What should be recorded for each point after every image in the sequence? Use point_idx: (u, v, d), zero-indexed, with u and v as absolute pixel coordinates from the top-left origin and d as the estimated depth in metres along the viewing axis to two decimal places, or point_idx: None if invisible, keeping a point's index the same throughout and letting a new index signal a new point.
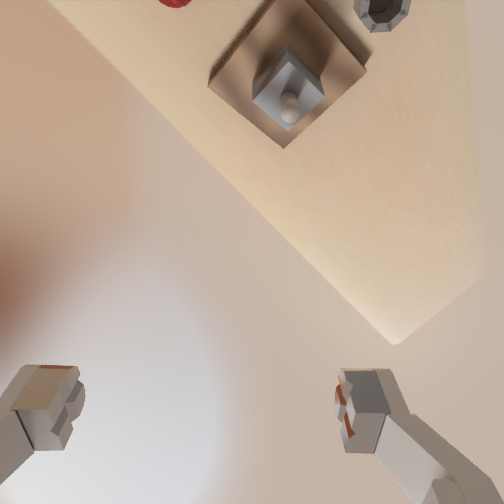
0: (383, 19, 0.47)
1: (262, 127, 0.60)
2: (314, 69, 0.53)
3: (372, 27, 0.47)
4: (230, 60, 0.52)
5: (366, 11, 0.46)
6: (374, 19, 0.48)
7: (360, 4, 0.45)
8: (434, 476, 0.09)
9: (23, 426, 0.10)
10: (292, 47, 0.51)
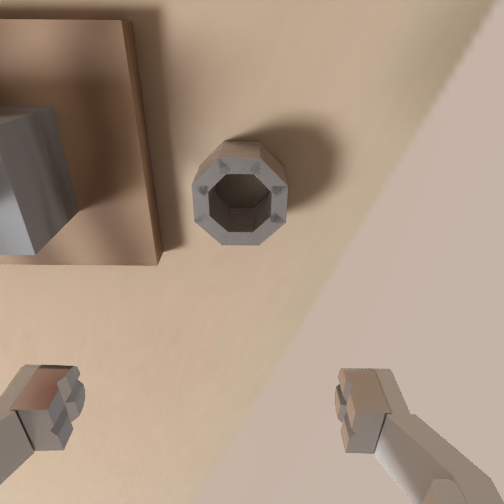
0: (225, 219, 0.26)
1: None
2: (77, 192, 0.25)
3: (201, 216, 0.24)
4: None
5: (209, 186, 0.23)
6: (214, 208, 0.25)
7: (207, 168, 0.23)
8: (434, 477, 0.09)
9: (23, 426, 0.10)
10: (59, 124, 0.23)
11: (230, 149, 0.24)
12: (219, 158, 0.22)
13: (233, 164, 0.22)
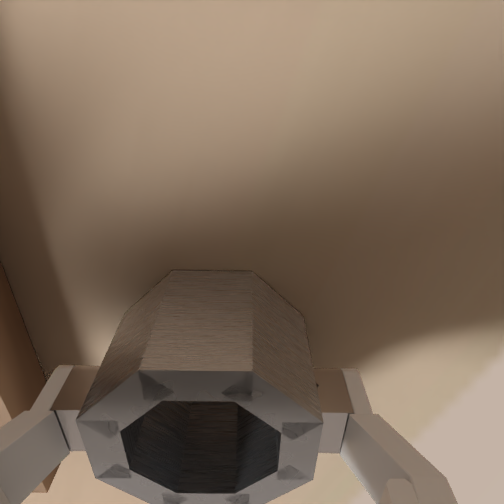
0: (175, 443, 0.12)
1: None
2: None
3: (111, 470, 0.10)
4: None
5: (120, 422, 0.09)
6: (149, 420, 0.11)
7: (114, 380, 0.09)
8: (392, 476, 0.09)
9: (61, 426, 0.10)
10: None
11: (180, 314, 0.10)
12: (140, 370, 0.08)
13: (180, 382, 0.08)
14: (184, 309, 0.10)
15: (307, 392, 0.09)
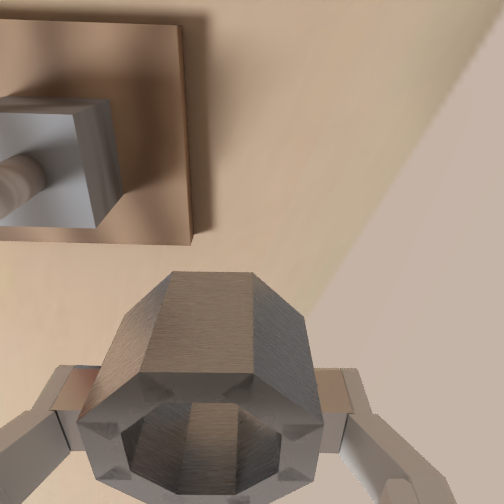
0: (175, 444, 0.12)
1: None
2: (124, 176, 0.28)
3: (111, 472, 0.10)
4: None
5: (120, 423, 0.09)
6: (149, 422, 0.11)
7: (115, 382, 0.09)
8: (391, 476, 0.09)
9: (62, 427, 0.10)
10: (114, 115, 0.26)
11: (180, 316, 0.10)
12: (141, 372, 0.08)
13: (180, 384, 0.08)
14: (185, 310, 0.10)
15: (308, 394, 0.09)
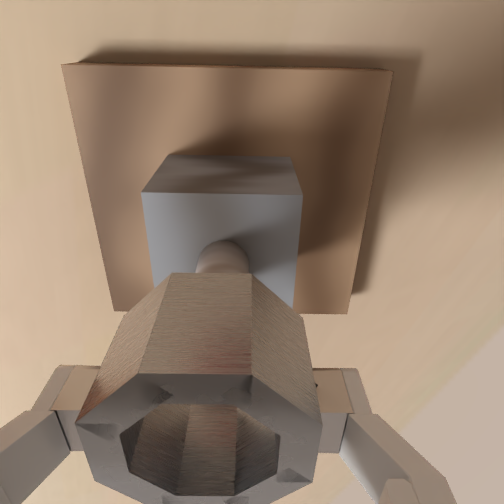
0: (174, 445, 0.12)
1: (108, 246, 0.24)
2: None
3: (110, 473, 0.10)
4: (163, 70, 0.19)
5: (119, 425, 0.09)
6: (148, 423, 0.11)
7: (114, 383, 0.09)
8: (391, 476, 0.09)
9: (61, 426, 0.10)
10: None
11: (179, 317, 0.10)
12: (139, 373, 0.08)
13: (179, 385, 0.08)
14: (183, 312, 0.10)
15: (306, 395, 0.09)
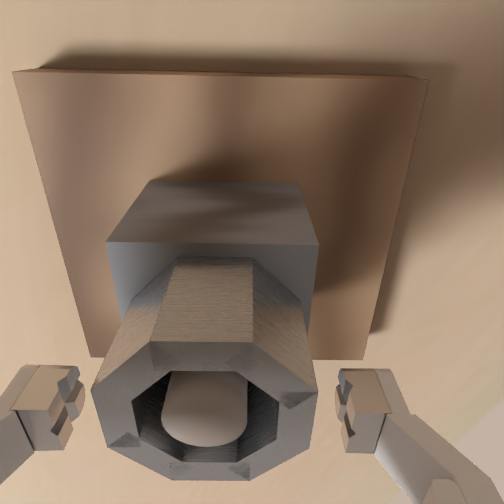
0: None
1: (81, 286, 0.20)
2: None
3: (122, 439, 0.11)
4: (140, 79, 0.15)
5: (131, 391, 0.10)
6: (156, 396, 0.12)
7: (126, 353, 0.10)
8: (434, 477, 0.09)
9: (23, 426, 0.10)
10: None
11: (186, 294, 0.10)
12: (151, 341, 0.09)
13: (187, 353, 0.09)
14: (190, 290, 0.11)
15: (303, 365, 0.10)
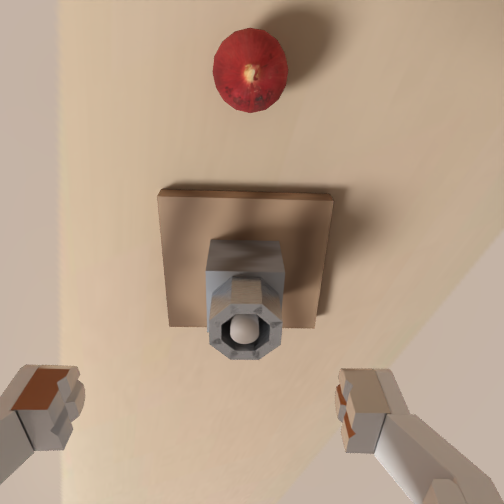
0: None
1: (170, 288, 0.40)
2: None
3: (215, 340, 0.31)
4: (211, 199, 0.35)
5: (222, 321, 0.30)
6: (223, 329, 0.32)
7: (221, 308, 0.30)
8: (434, 476, 0.09)
9: (23, 426, 0.10)
10: None
11: (238, 290, 0.31)
12: (231, 304, 0.29)
13: (241, 307, 0.29)
14: (239, 288, 0.31)
15: (278, 313, 0.30)
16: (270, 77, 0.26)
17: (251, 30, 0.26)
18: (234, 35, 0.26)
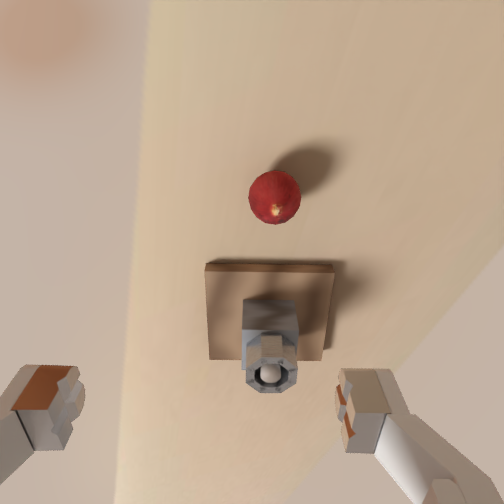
0: None
1: (211, 333, 0.53)
2: None
3: (249, 380, 0.44)
4: (244, 273, 0.48)
5: (255, 368, 0.43)
6: (255, 371, 0.45)
7: (254, 359, 0.42)
8: (434, 477, 0.09)
9: (23, 426, 0.10)
10: (294, 306, 0.51)
11: (266, 345, 0.43)
12: (261, 357, 0.42)
13: (269, 359, 0.42)
14: (266, 344, 0.44)
15: (294, 362, 0.43)
16: (288, 209, 0.38)
17: (276, 176, 0.39)
18: (264, 180, 0.39)
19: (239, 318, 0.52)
